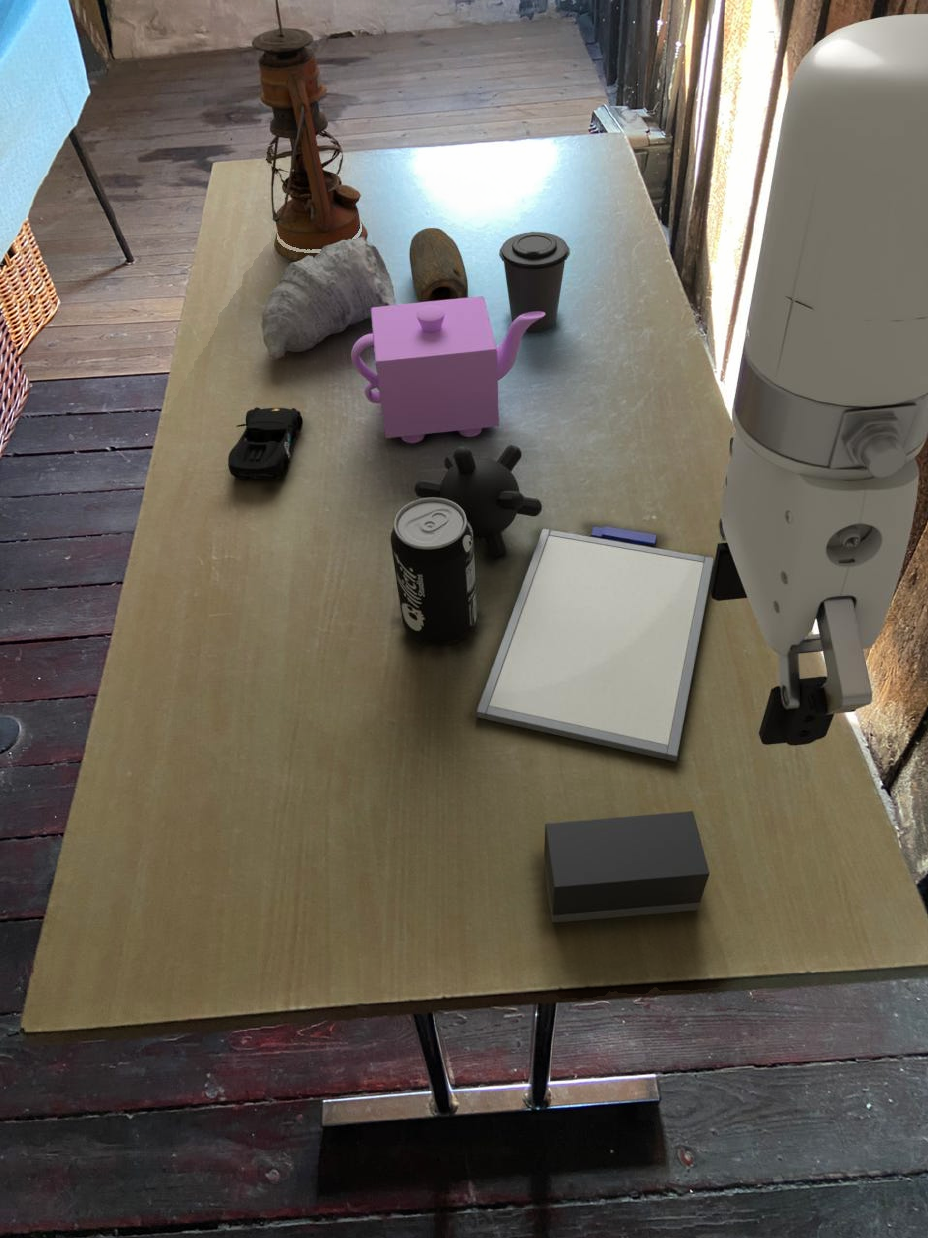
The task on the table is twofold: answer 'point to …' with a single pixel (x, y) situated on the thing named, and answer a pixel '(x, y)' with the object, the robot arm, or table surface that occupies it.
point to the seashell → (325, 296)
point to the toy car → (265, 443)
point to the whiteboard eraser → (624, 866)
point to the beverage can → (435, 570)
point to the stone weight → (437, 267)
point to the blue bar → (598, 533)
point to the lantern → (303, 147)
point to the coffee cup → (534, 275)
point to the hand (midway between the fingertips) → (762, 661)
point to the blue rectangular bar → (629, 535)
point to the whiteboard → (601, 644)
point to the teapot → (438, 366)
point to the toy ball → (483, 493)
